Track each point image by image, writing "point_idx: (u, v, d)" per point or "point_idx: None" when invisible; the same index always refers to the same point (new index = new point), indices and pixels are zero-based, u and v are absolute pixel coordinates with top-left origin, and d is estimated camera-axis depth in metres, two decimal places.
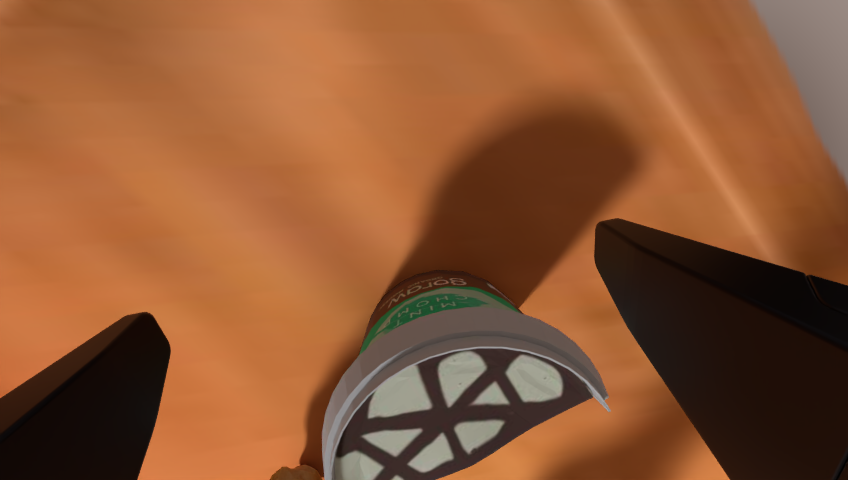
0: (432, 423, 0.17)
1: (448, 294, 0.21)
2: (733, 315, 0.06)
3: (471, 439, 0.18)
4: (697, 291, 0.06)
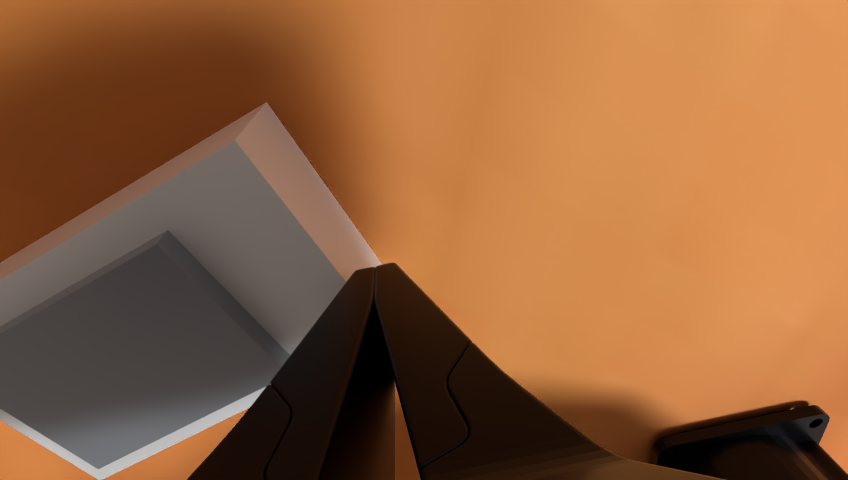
0: None
1: None
2: None
3: None
4: None
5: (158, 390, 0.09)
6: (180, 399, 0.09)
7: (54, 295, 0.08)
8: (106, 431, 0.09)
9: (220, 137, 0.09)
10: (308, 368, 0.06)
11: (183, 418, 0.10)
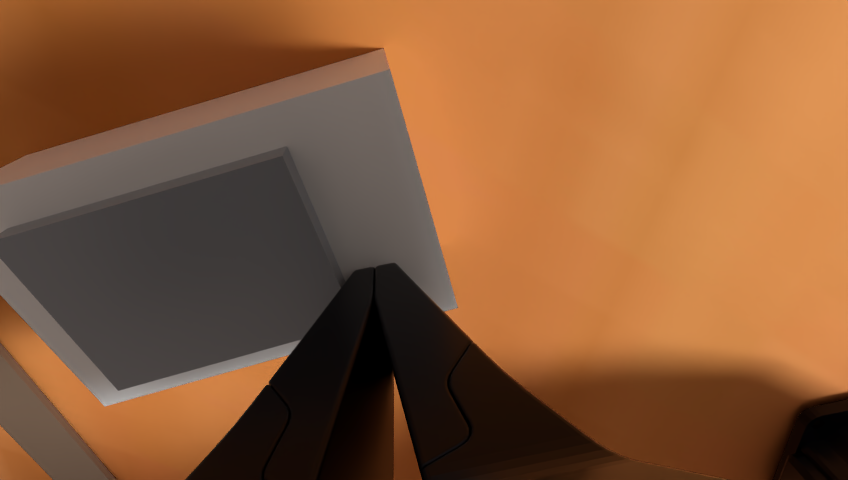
0: None
1: None
2: None
3: None
4: None
5: (218, 314, 0.08)
6: (237, 329, 0.09)
7: (140, 189, 0.08)
8: (144, 349, 0.09)
9: (347, 68, 0.08)
10: (307, 368, 0.06)
11: (232, 350, 0.09)
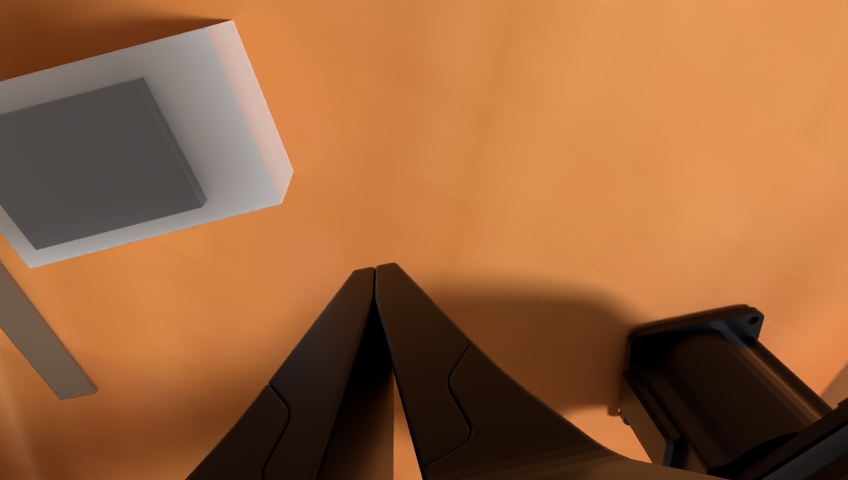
0: None
1: None
2: None
3: None
4: None
5: (103, 193, 0.13)
6: (117, 205, 0.13)
7: (46, 102, 0.12)
8: (53, 218, 0.13)
9: None
10: (306, 368, 0.06)
11: (115, 222, 0.13)
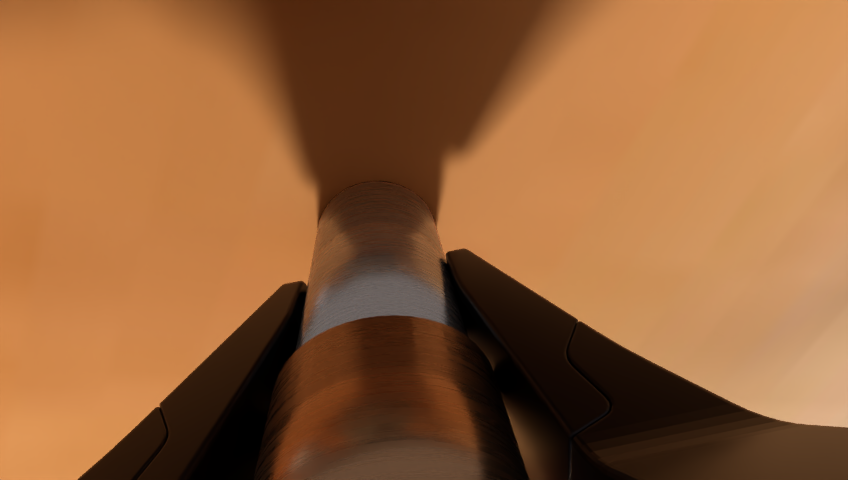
0: None
1: None
2: (503, 362, 0.06)
3: None
4: (486, 334, 0.06)
5: None
6: None
7: None
8: None
9: None
10: (199, 390, 0.06)
11: None
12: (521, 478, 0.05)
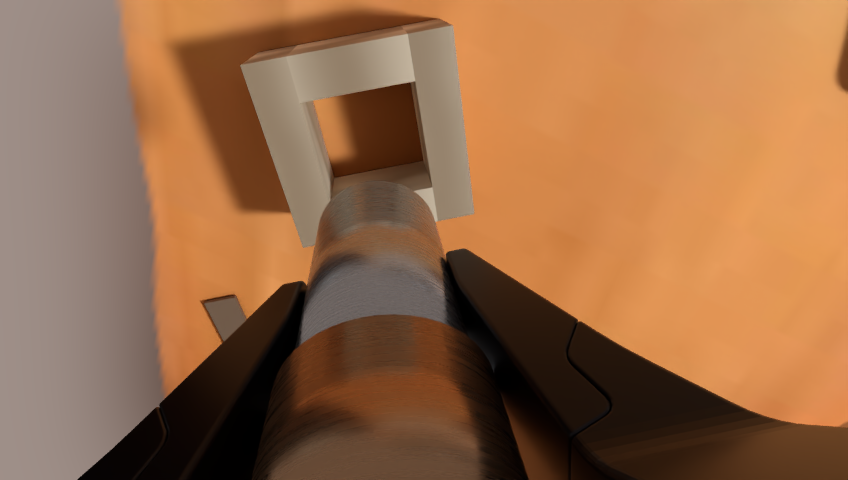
0: None
1: None
2: (503, 362, 0.06)
3: None
4: (486, 334, 0.06)
5: None
6: None
7: None
8: None
9: None
10: (199, 390, 0.06)
11: None
12: (520, 478, 0.05)
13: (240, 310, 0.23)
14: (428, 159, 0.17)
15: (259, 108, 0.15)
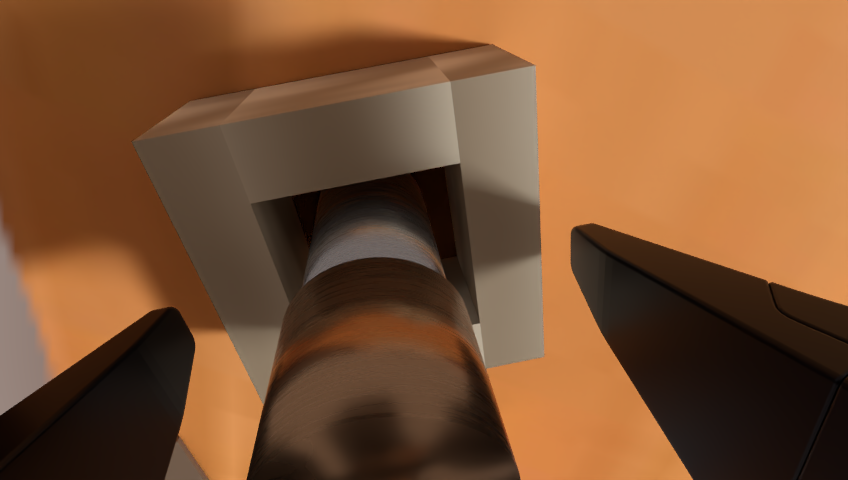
0: None
1: None
2: (695, 323, 0.06)
3: None
4: (662, 298, 0.06)
5: None
6: None
7: None
8: None
9: None
10: (2, 430, 0.06)
11: None
12: (480, 373, 0.06)
13: (187, 456, 0.16)
14: (475, 282, 0.10)
15: (176, 214, 0.08)
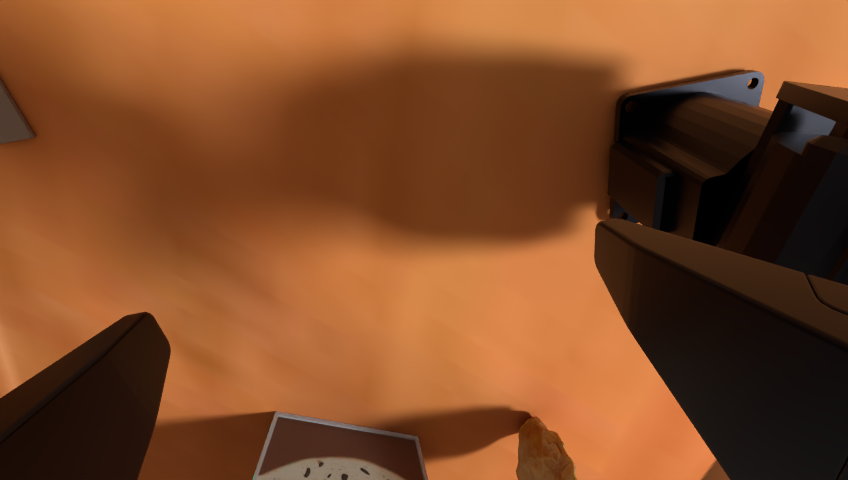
0: None
1: None
2: (733, 315, 0.06)
3: None
4: (697, 291, 0.06)
5: None
6: None
7: None
8: None
9: None
10: None
11: None
12: None
13: None
14: None
15: None
